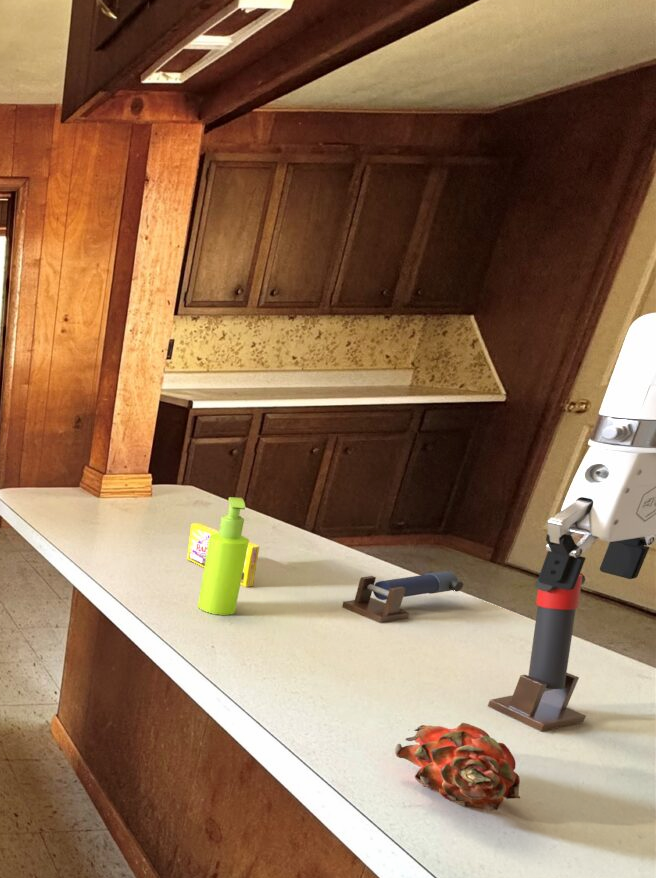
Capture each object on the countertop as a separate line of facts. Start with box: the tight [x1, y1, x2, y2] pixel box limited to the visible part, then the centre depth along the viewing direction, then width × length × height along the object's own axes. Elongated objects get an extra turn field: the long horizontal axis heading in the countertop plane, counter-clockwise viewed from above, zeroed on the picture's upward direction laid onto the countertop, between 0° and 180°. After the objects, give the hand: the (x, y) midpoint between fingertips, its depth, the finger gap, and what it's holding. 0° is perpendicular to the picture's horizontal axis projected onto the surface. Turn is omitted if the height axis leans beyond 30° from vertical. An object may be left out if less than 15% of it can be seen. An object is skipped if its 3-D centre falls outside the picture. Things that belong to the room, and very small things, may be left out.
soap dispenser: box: [197, 496, 250, 616], centre depth 113 cm, size 6×7×20 cm
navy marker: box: [367, 570, 464, 601], centre depth 113 cm, size 15×5×4 cm, turn 104°
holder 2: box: [487, 672, 587, 732], centre depth 83 cm, size 6×7×6 cm
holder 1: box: [341, 575, 411, 624], centre depth 112 cm, size 6×7×6 cm
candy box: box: [186, 522, 261, 588], centre depth 131 cm, size 16×2×8 cm, turn 14°
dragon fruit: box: [394, 722, 521, 811], centre depth 70 cm, size 8×8×12 cm
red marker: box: [527, 572, 586, 691], centre depth 81 cm, size 15×5×4 cm
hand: (586, 580), depth 78 cm, fingers open, 9 cm apart
